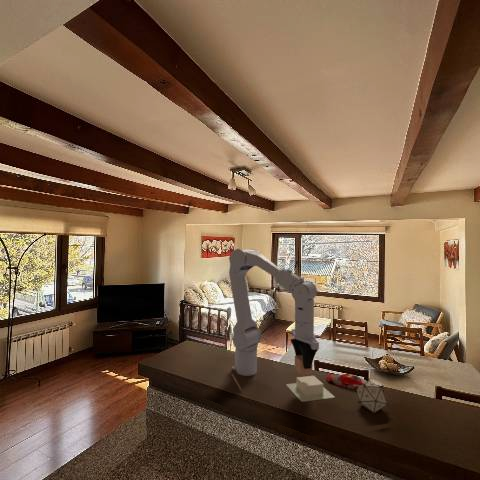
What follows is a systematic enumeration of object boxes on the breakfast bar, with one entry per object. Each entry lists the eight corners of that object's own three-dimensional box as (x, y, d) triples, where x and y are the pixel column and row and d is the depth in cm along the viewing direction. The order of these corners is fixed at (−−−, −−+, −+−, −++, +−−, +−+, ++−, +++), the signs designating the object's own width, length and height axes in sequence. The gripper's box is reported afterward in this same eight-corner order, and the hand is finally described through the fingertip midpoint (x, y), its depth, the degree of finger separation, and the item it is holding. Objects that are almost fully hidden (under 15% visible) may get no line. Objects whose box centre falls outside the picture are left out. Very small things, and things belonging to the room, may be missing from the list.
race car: (324, 385, 99) (324, 373, 99) (328, 379, 103) (328, 367, 103) (366, 396, 92) (366, 383, 92) (370, 389, 96) (370, 377, 96)
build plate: (285, 386, 97) (285, 384, 97) (316, 383, 99) (316, 380, 99) (301, 404, 86) (301, 401, 86) (335, 399, 89) (335, 397, 89)
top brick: (294, 368, 94) (294, 355, 94) (306, 367, 95) (306, 354, 95) (300, 373, 90) (300, 360, 90) (312, 372, 91) (312, 359, 91)
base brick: (296, 387, 95) (296, 377, 95) (313, 385, 96) (313, 375, 96) (305, 396, 89) (305, 386, 89) (323, 394, 91) (323, 384, 91)
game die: (368, 427, 82) (351, 402, 80) (360, 401, 90) (345, 377, 88) (400, 417, 79) (383, 390, 77) (389, 391, 87) (374, 366, 85)
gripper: (328, 326, 87) (328, 373, 87) (305, 315, 101) (304, 355, 101) (306, 328, 85) (306, 376, 85) (285, 316, 99) (285, 357, 99)
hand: (304, 365), depth 93 cm, fingers closed on top brick, 4 cm apart
